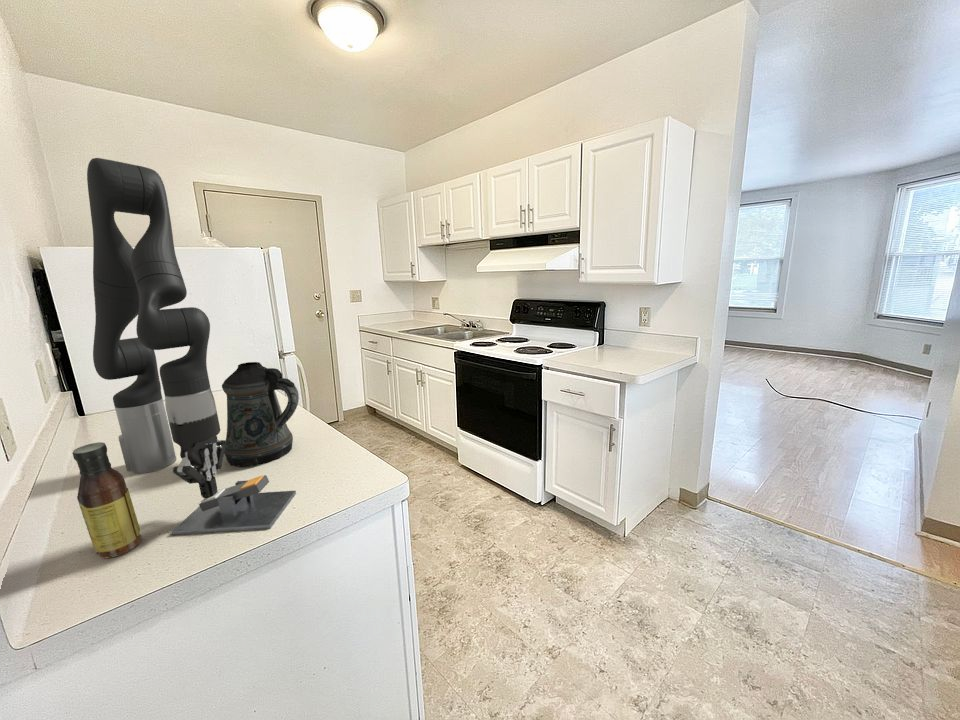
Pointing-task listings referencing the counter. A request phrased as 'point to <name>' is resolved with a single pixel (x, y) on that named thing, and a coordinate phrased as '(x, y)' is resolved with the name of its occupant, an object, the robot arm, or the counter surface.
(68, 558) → the counter surface
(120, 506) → the sauce bottle
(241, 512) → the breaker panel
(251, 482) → the lever
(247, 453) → the beer stein
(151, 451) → the robot arm
